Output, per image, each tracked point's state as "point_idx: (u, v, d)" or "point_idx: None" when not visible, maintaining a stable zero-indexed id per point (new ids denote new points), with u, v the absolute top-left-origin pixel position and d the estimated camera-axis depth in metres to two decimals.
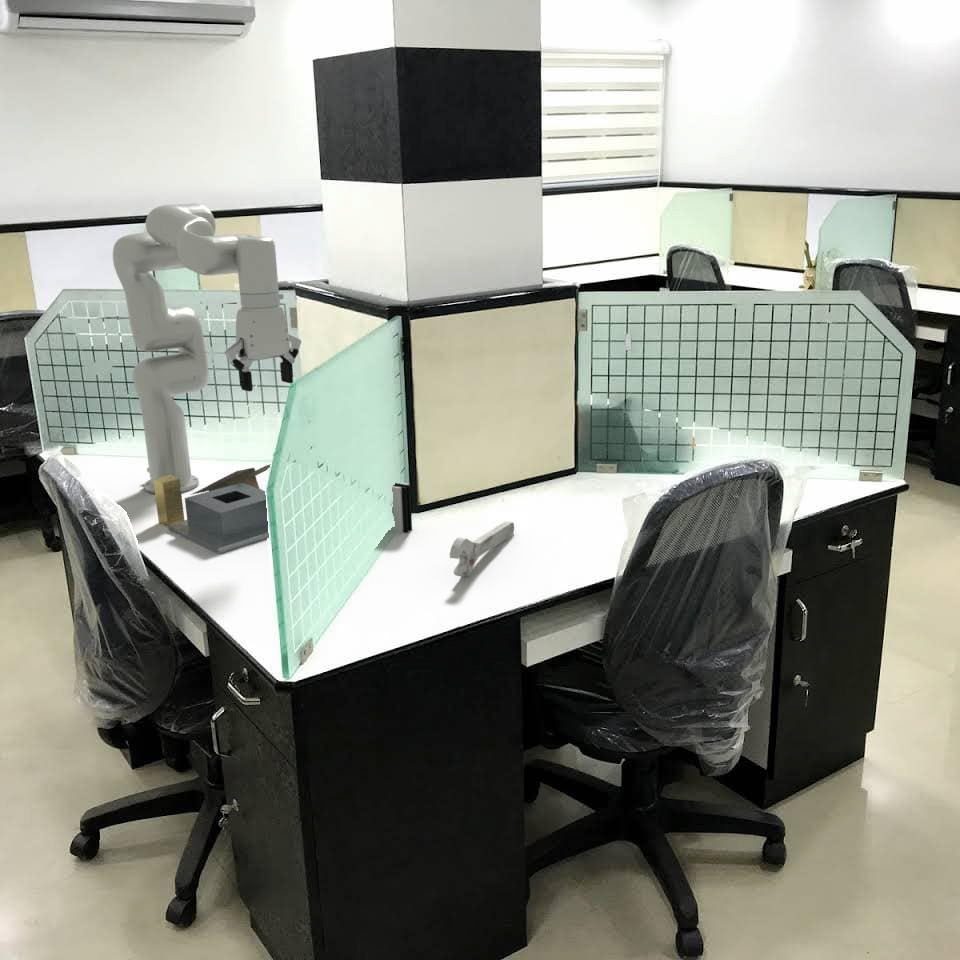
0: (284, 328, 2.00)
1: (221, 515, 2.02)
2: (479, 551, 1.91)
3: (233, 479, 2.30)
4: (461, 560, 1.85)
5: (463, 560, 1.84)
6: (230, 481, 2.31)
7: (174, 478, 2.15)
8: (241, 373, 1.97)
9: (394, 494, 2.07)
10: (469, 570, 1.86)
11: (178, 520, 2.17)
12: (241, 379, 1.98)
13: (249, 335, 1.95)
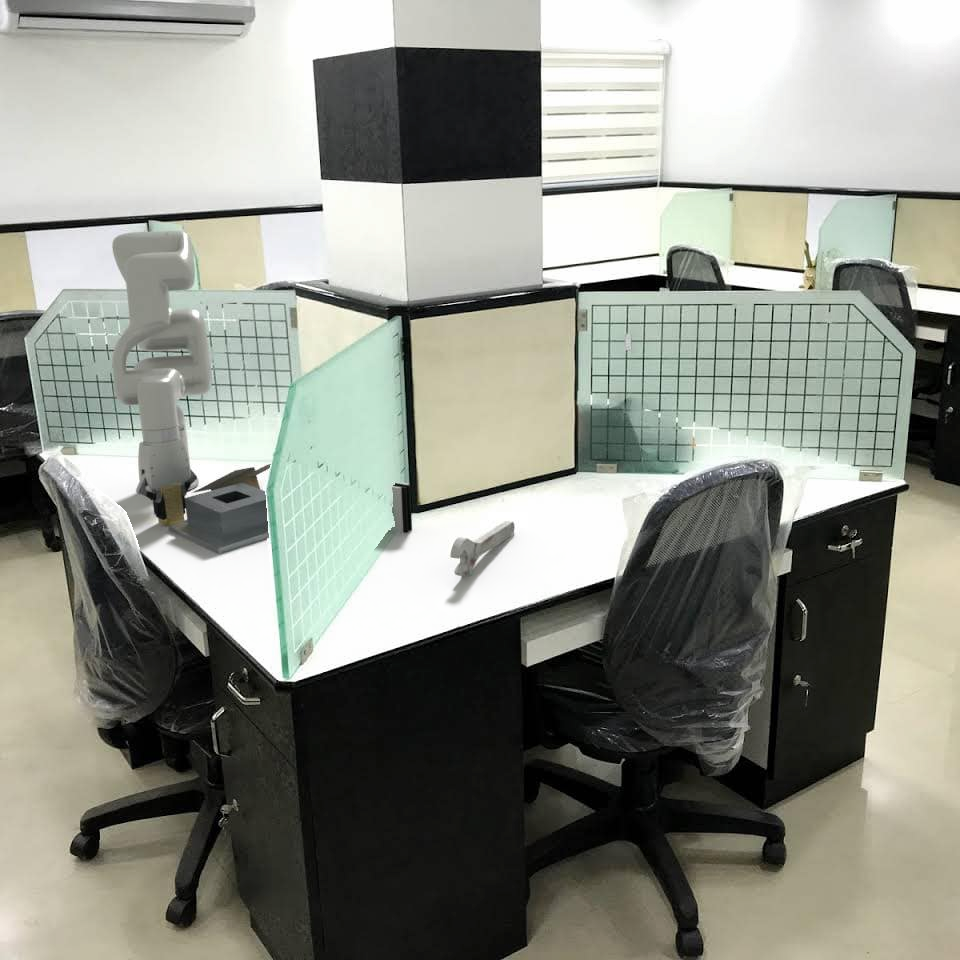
0: (184, 457, 2.14)
1: (221, 515, 2.02)
2: (480, 551, 1.91)
3: (234, 478, 2.31)
4: (462, 560, 1.85)
5: (464, 560, 1.84)
6: (231, 480, 2.31)
7: None
8: (155, 503, 2.14)
9: (394, 494, 2.07)
10: (470, 570, 1.86)
11: (178, 520, 2.17)
12: (155, 509, 2.14)
13: (150, 467, 2.09)
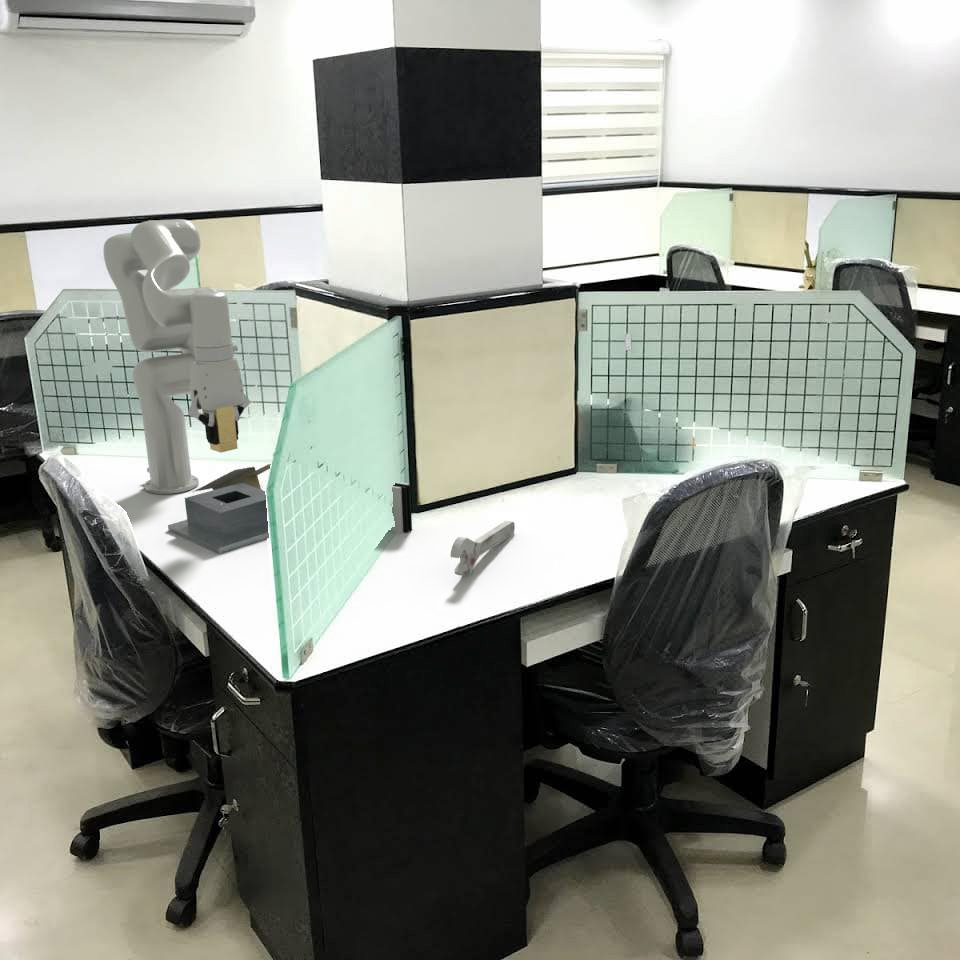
0: (238, 379, 2.04)
1: (221, 515, 2.02)
2: (480, 550, 1.91)
3: (235, 477, 2.31)
4: (462, 559, 1.85)
5: (464, 559, 1.85)
6: (232, 479, 2.32)
7: None
8: (207, 427, 2.04)
9: (394, 494, 2.07)
10: (470, 569, 1.87)
11: (231, 446, 2.07)
12: (207, 433, 2.04)
13: (203, 387, 1.99)
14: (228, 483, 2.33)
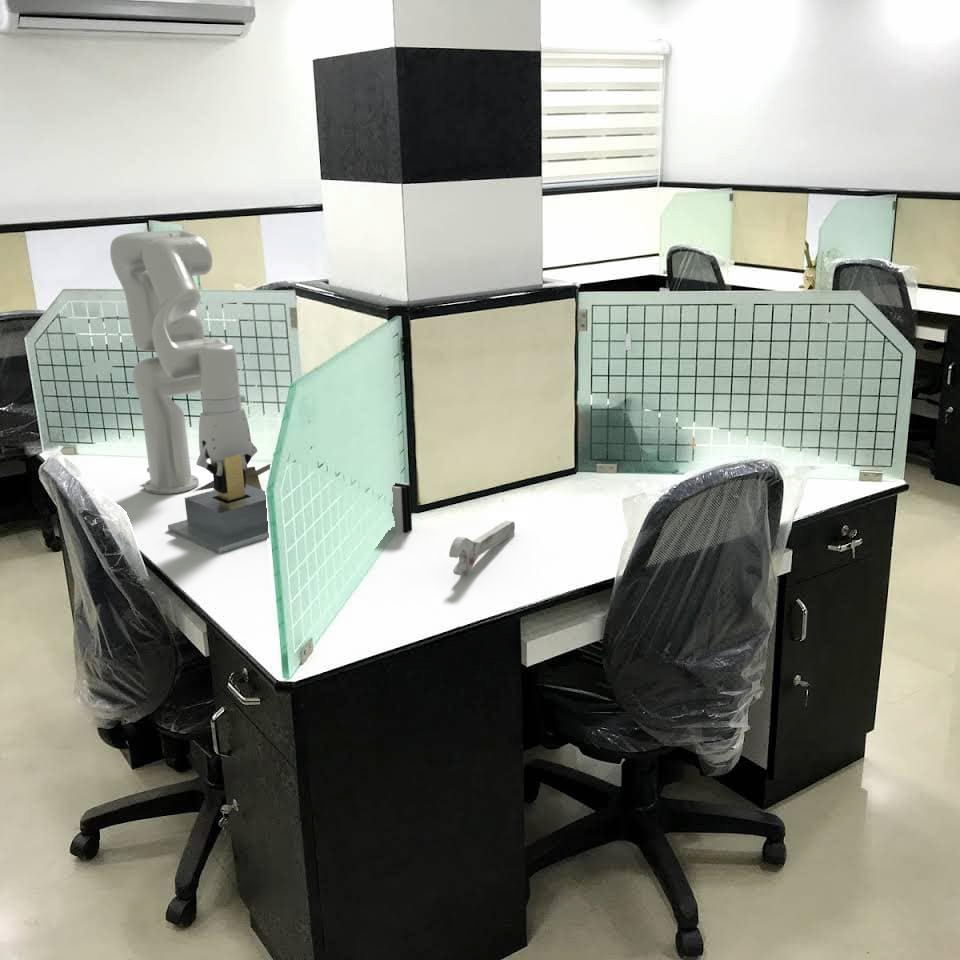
0: (246, 429, 2.08)
1: (221, 515, 2.02)
2: (479, 550, 1.91)
3: None
4: (461, 559, 1.85)
5: (463, 559, 1.85)
6: None
7: None
8: (215, 476, 2.07)
9: (394, 494, 2.07)
10: (469, 569, 1.87)
11: (239, 494, 2.10)
12: (215, 482, 2.07)
13: (211, 438, 2.02)
14: None
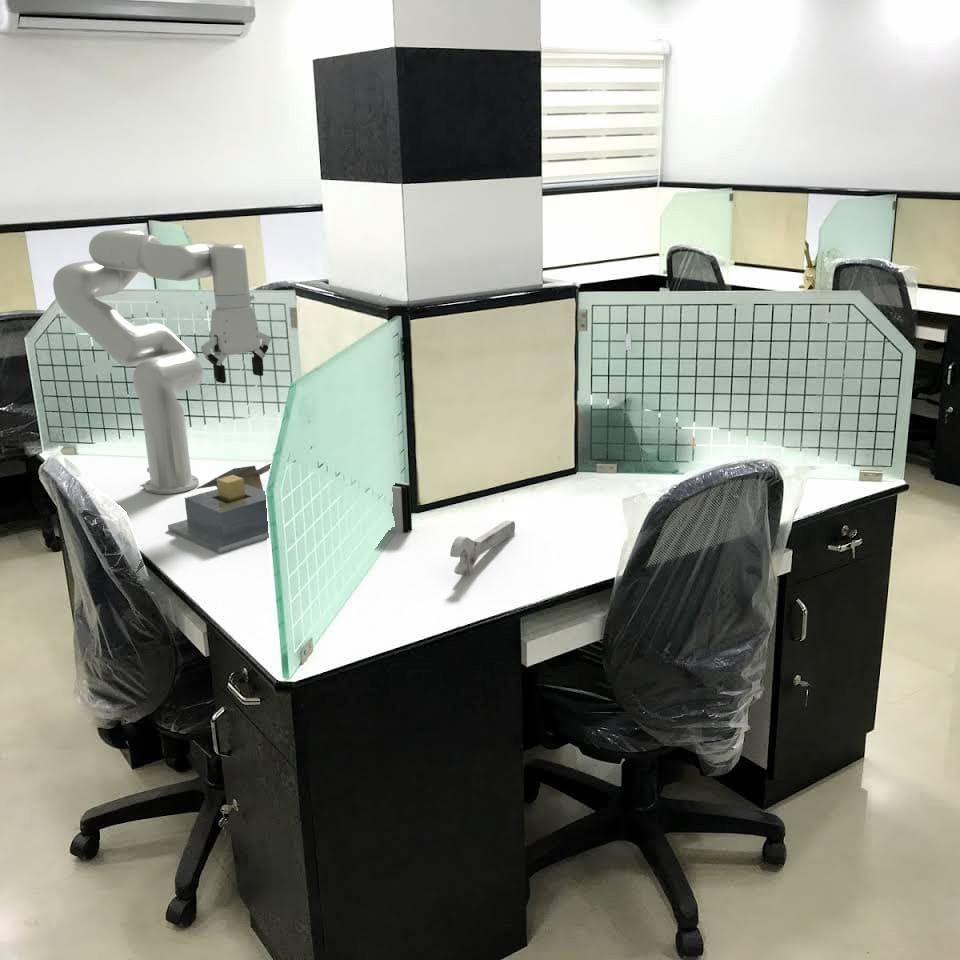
0: (254, 326, 2.22)
1: (221, 515, 2.02)
2: (480, 550, 1.91)
3: None
4: (462, 559, 1.85)
5: (464, 559, 1.85)
6: None
7: (238, 478, 2.10)
8: (215, 367, 2.19)
9: (394, 494, 2.07)
10: (470, 569, 1.87)
11: None
12: (215, 372, 2.19)
13: (223, 332, 2.16)
14: None
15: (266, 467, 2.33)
